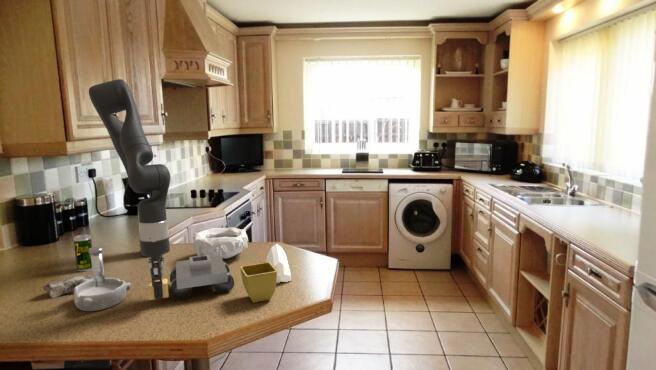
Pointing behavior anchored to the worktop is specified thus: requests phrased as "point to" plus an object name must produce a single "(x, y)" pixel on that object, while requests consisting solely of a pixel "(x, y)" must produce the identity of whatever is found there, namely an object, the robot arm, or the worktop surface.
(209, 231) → the bowl
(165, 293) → the pale yellow block
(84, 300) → the dish
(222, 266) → the dolly
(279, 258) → the white faceted prism
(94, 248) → the pin
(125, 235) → the worktop surface
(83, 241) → the beer can
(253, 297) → the flower pot
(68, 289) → the mineral rock
